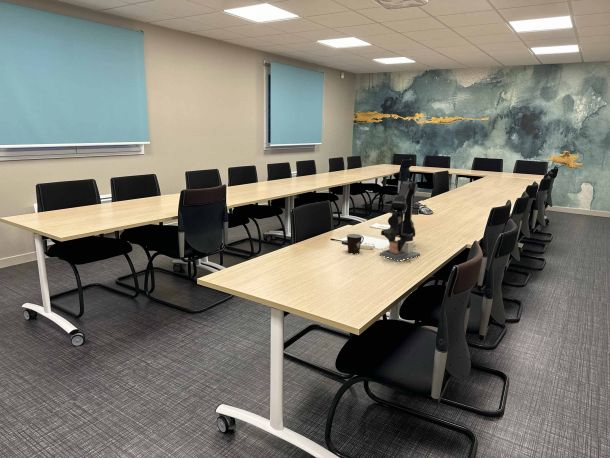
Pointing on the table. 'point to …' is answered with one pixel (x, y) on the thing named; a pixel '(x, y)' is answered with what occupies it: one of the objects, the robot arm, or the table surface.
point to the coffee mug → (354, 242)
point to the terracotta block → (394, 247)
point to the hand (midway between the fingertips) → (395, 250)
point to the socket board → (406, 252)
